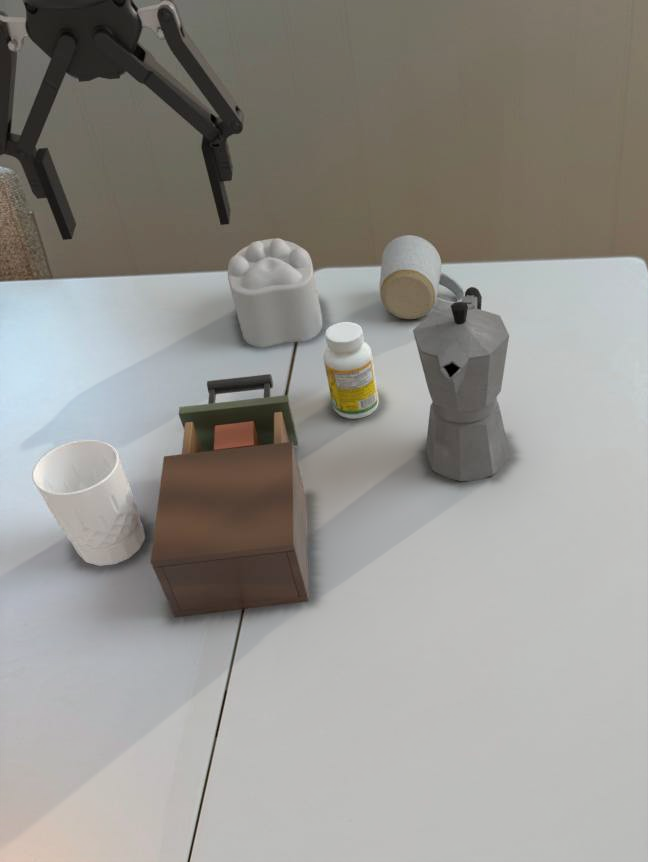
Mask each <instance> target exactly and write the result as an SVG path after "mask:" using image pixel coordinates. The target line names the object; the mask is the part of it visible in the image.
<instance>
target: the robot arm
mask: <svg viewBox="0 0 648 862" xmlns="http://www.w3.org/2000/svg"><path fill="white" fill-rule="evenodd" d="M22 2H23V5H24V8H25V16H24V17H23V16H22V17H21V16H9V15H8V14H7V13H6V12H5V11H3V10H0V156H3V155H7V156H11V157H13V158H15V159H16V160H18V161H19V163H20V165H21V168H22V170H23V172H24V174H25V177H26V179H27V183H28V184H29V185H28V186H29V187H30V190H31V192H32V194H33V195H34V197H35V198H36V199H38V200H39V199H46V200H47V203H48V205H49V209H50V210H51V212H52V215H53V218H54V220H55V223H56V225H57V229H58V231H59V233H60V236H61V238H62V240H63V241H67V240H72V239H73V236H74V233H75V230H76V226H77V222H76V220H75V217H74V214H73V212H72V209H71V206H70V203H69V201H68V197H67V195H66V193H65V190H64V187H63V184H62V182H61V179H60V177H59V175H58V171H57V169H56V166H55V164H54V162H53V161H54V160H53V159H52V156H51V153H50V150H49V148H48V147H42V148H41V147H40V148H38V149H37V147H36V146H37V144H38V141H39V139H40V137H41V134H42V132H43V129H44V128H45V125H46V122H47V120H48V117H49V115H50V112H51V111H52V109H53V108H52V107H53V106H54V103H55V101H56V98H57V95H58V93H59V90H60V88H61V86H62V83H63V82H64V78H65V77H66V74H67V75H68V76H69V77H72V78H74V79H77V80H78V82H79V83H80V82H81V83H82V82H83V83H84V82H91V81H93V80H95V79H98V78H101V79H107V80H115V79H116V80H118V79H121V76H123V75H124V74H126V73H127V74H128V75H130V77H132V78H133V79H134V80H135V81H136V82H138V83H139V84H141V85H142V84H143V85H144V86H146V87H147V88H148V89H149V90H151V91H152V92H153V93H154V94H155V95H156V96H157V97H158V98H159V99H161V100H162V101H163V102H164V104H166V105H168V106H169V107H170V108H171V109H172V110H173V111H174V112H175V113H177V114H178V115H179V116H180V117H181V118H183V119H184V121H185V122H187V123H188V124H189V125H190V126H192V127H193V128H194V129H195V130H196V131H197V132H198V133H199V134H200V135H202V140H201V146H200V149H201V152H202V157H203V161H204V165H205V169H206V171H207V177H208V180H209V184H210V188H211V193H212V196H213V200H214V205H215V208H216V212H217V215H218V220H219V223H220V226H224V225H230V222H231V220H230V219H231V207H230V206H231V205H230V201H229V198H228V194H227V190H226V185H225V182H231V181H232V179H233V172H234V166H233V165H234V164H233V161H232V157H231V153H230V149H229V144H228V140H227V139H228V138H229V137H230V136H233V135H239V134H241V133H242V132H243V129H244V119H245V115H244V112H243V110H242V108H241V107H240V105H239V104H238V102H237V101H236V99H235V98H234V97H233V95H232V94H231V93H230V91H229V90H228V88H227V87H226V86H225V84H224V83H223V81H222V80H221V79H220V77H219V76H218V74H217V73H216V72H215V70H214V69H213V67H212V66H211V64H210V63H209V62H208V60H207V59H206V57H205V56H204V55H203V52H201V50H200V49H199V48H198V47H197V45H196V43H195V42H194V41H193V39H192V37H191V36H190V35H189V34H188V32H187V31H186V29H185V27H184V24H183V21H182V19H181V16H180V13H179V10H178V7H177V5H176V2H175V0H160V2H159V3H156V4H153V5H147V6H144V7H143V6H142V7H138V6H137V5H136V3H135V2H134V1H133V0H22ZM143 28H147V29H150V30H151V31H152V33H153V34H154V35H155V37H156V38H158V39H159V40H162V41H163V40H165V41H166V44H167V45H168V48H169V49H170V51H171V53H172V55H174V57H175V58H176V60H177V61H178V62H179V64H180V65H181V66H182V68H183V69H184V71H185V72H186V73H187V75H188V76H189V78H190V79H191V80H192V81H193V83H194V84H195V86H196V87H197V88H198V89H199V91H200V92H201V94H202V95H203V97H204V98H205V99H206V101H207V102H208V103H209V105H210V106H211V107H212V109H213V110H214V111H213V110H211V109H210V108H209V107H208V106H207V105H206V104H205V103H203V101H202V100H200V99H199V98H198V97H197V96H196V95H195V94H193V93H192V92H191V91H190V90H189V89H188V88H187V87H186V86H185V85H184V84H183V83H181V82H180V81H179V80H178V79H177V78H176V76H174V75H173V74H171V73H170V72H169V71H168V70H167V69H166V68H165V67H164V66H162V65H161V64H160V63H159V62H158V61H157V60H156V58H155V57H154V55H153V54H152V53H151V52H150V51H149V50H148V49H147V48H146V47H144V46H143V44H141V43H140V42H139V41H140V38H141V35H142V31H143ZM27 37H28V38H29V40H31V42H33V43H34V44H35V45H36V46H37V47H38V48H39V49H40V50H41V51H43V53H44V54H46V56H48V57H49V59H50V61H49V63H48V65H47V68H46V71H45V73H44V75H43V78H42V81H41V83H40V86H39V89H38V91H37V94H36V96H35V98H34V101H33V103H32V106H31V108H30V111H29V113H28V116H27V118H26V121H25V124H24V125H23V128H22V131H21V133H20V134H19V133H13V132H12V125H13V113H14V98H15V87H16V77H17V76H16V74H17V63H18V61H17V60H18V52H20V51H21V50H22V48H23V46H24V43H25V38H27ZM214 112H215V113H214Z"/></svg>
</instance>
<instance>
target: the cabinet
mask: <svg viewBox="0 0 648 862" xmlns="http://www.w3.org/2000/svg"><path fill="white" fill-rule="evenodd" d="M307 504H308V503H307V496H306V492H305V488H304V483H303V479H302V475H301V471H300V465H299V462H298V459H297V454H296V450H295V446H293V442H285V443H276V444H268V445H259V446H250V447H241V448H233V449H224V450H215V451H206V452H197V453H189V454H182V453H181V454H173V455H164V456H163V460H162V469H161V476H160V483H159V493H158V500H157V506H156V507H157V508H156V513H155V514H156V515H155V523H154V530H153V538H152V546H151V555H150V561H149V562H150V564H151V566H152V568H153V571H154V573H155V575H156V578H157V580H158V582H159V584H160V587H161V589H162V591H163V593H164V596H165V598H166V600H167V603H168V605H169V607H170V610H171V611H172V614H173V616H174V618H183V617H192V616H199V615H208V614H216V613H222V612H223V613H225V612H231V611H232V612H233V611H239V610H247V609H255V608H263V607H272V606H279V605H288V604H289V605H290V604H296V603H304V602H309V601H310V599H309V598H310V597H309V595H310V594H309V593H310V592H309V555H308V553H309V552H308V549H309V548H308V516H307V514H308V512H307V511H308V510H307V509H308V507H307Z"/></svg>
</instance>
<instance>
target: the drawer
mask: <svg viewBox="0 0 648 862" xmlns="http://www.w3.org/2000/svg"><path fill="white" fill-rule="evenodd" d="M206 386H207V387H206V388H207V392H208V403H205V404H194V405H187V406H179V408H178V416H179V420H180V423H181V425H182V428H183V438H182V446H181V447H182V448H181V454H189V453H197V452H206V451H214V434H215V426H217V425H225V424H233V423H242V422H250V421H254V425H255V428H256V432H257V436H258V439H259V443H260V445H268V444H276V443H285V442H293V446H294V447H296V446H299V436H298V432H297V428H296V424H295V420H294V419H295V418H294V415H293V410H292V406H291V401H290V396H289V395H288V394H285V395H276V396H271V389H273V388H274V381H273V377H272V374H271V373H269V374H268V373H267V374H257V375H249V376H242V377H231V378H223V379H213V380H207V381H206ZM257 390H263V397H257V398H248V399H239V400H231V401H223V402H216V400H217V395H221V394H231V393H241V392H249V391H250V392H251V391H257Z"/></svg>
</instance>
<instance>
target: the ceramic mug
mask: <svg viewBox="0 0 648 862" xmlns="http://www.w3.org/2000/svg"><path fill="white" fill-rule="evenodd" d="M439 285H440V286H443V287H444V288H447V289H448V290H449V291H451V292H452V293H453V294H454V295H455V296H456V301H448V300H446V299H443V298H441V297H440V298H439V297H438V292H439ZM465 292H466V291H465V289H464V287H463V286H462V285H461V284H460V283H459V282H458V281H456V280H455V279H454V278H453V277H451V276H449V274H445V273H443V272H442V260H441V255H440V253H439V252H438V250H437V249H436V247H435V246H434V245H433V243H431V242H430V241H428V240H427V239H424V238H423V237H421V236H417V235H410V234H407V235H401V236H398V237H396V238H394V239H392V240H391V241H390V242H389V243H388V244H387V245H386V246H385V248H384V250H383V252H382V256H381V265H380V278H379V296H380V299H381V302H382V304H383V306H384V307H385V309H386V310H387V311H388V312H389V313H390V314H392V315H393V316H395V317H397V318H400V319H403V320H416V319H420V318H422V317H424V316H426V315H427V314H428V313H430V311H431V310H432V309H436V310H438V311H442V310H448V309H451V305H452V304H453V303H455V302H461V301H462V298H463V296H465Z"/></svg>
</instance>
